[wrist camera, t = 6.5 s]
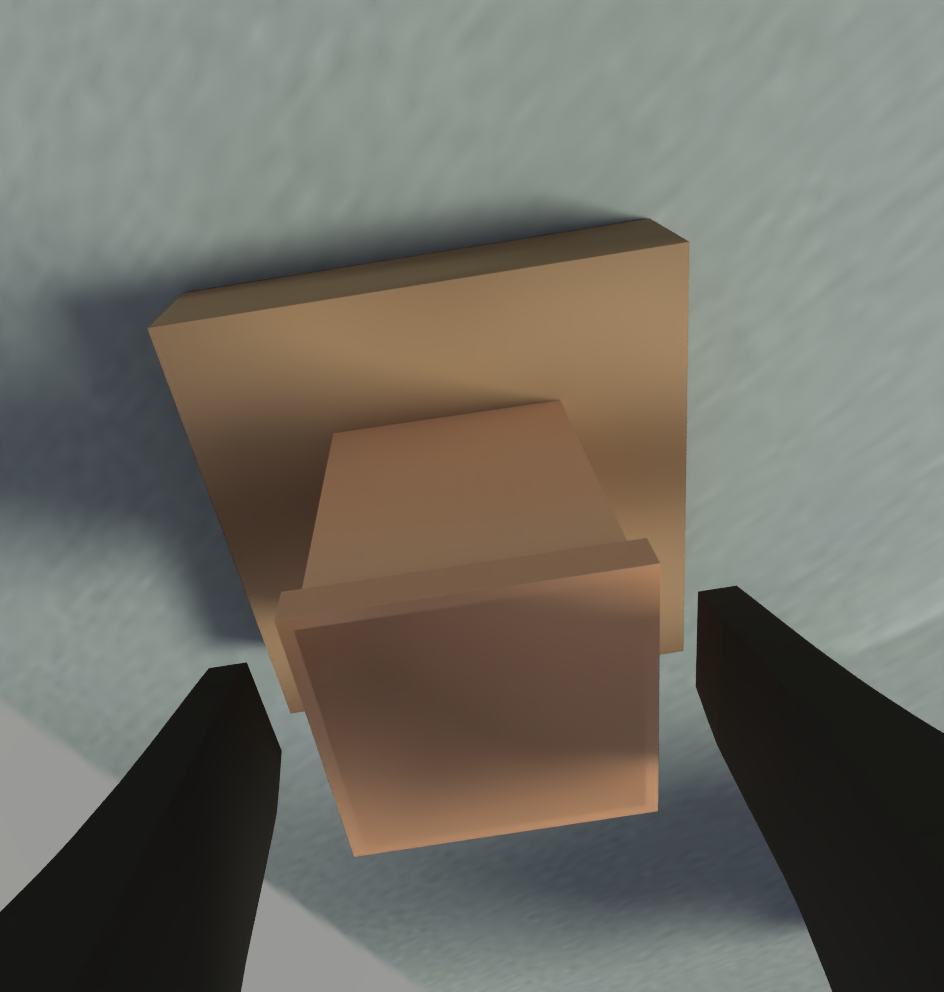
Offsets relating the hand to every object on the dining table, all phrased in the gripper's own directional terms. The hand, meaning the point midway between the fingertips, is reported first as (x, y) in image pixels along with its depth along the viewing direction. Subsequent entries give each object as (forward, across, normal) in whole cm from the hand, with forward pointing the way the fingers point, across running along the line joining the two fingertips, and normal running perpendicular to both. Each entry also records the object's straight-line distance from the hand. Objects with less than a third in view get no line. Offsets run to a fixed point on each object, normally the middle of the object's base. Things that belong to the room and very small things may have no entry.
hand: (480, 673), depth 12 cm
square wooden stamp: (+5, 0, 0) cm, 5 cm away
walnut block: (+7, 0, 0) cm, 7 cm away
